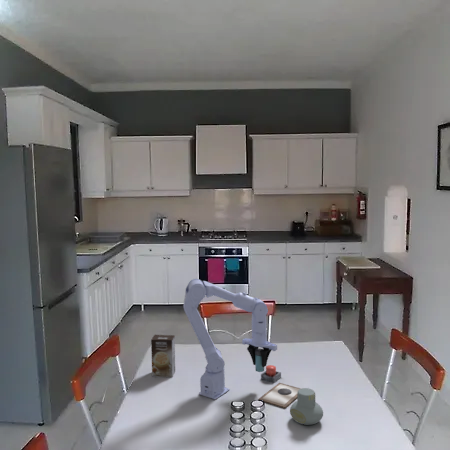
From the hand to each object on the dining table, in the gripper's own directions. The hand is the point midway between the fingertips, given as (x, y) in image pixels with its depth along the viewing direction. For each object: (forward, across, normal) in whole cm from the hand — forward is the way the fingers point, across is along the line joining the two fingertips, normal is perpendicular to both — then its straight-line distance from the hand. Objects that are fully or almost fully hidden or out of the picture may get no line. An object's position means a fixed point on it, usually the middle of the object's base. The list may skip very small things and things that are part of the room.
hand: (259, 365), depth 171 cm
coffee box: (+9, +41, +11) cm, 43 cm away
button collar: (+9, +1, -10) cm, 13 cm away
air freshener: (+9, -25, +12) cm, 30 cm away
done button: (+8, +1, -10) cm, 12 cm away
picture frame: (+9, -10, +1) cm, 14 cm away
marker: (+2, 0, 0) cm, 2 cm away
